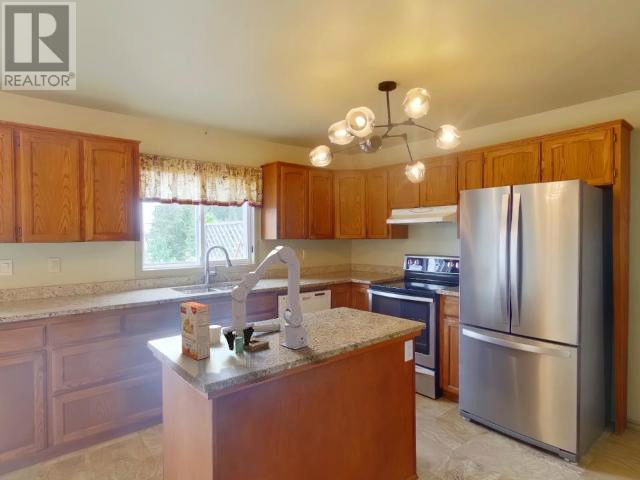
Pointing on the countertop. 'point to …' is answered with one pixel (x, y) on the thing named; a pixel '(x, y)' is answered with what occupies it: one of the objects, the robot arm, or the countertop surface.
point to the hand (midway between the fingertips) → (239, 347)
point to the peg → (239, 345)
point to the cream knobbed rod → (260, 329)
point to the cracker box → (195, 330)
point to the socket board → (256, 344)
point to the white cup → (215, 333)
